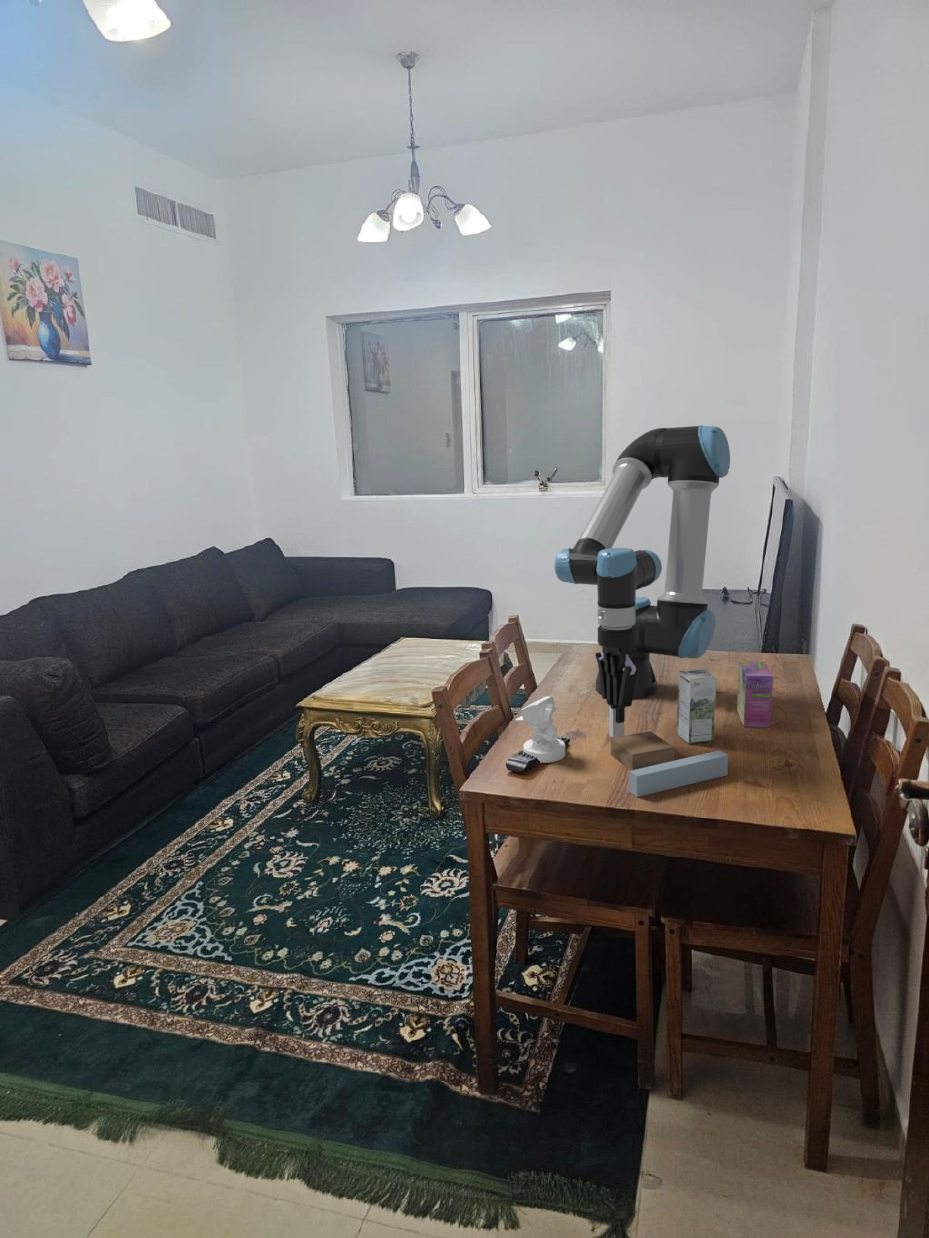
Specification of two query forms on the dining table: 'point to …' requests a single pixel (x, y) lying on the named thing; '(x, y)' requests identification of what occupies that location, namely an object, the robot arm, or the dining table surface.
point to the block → (641, 750)
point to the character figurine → (542, 731)
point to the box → (754, 694)
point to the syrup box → (696, 705)
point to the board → (678, 773)
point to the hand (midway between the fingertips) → (616, 735)
